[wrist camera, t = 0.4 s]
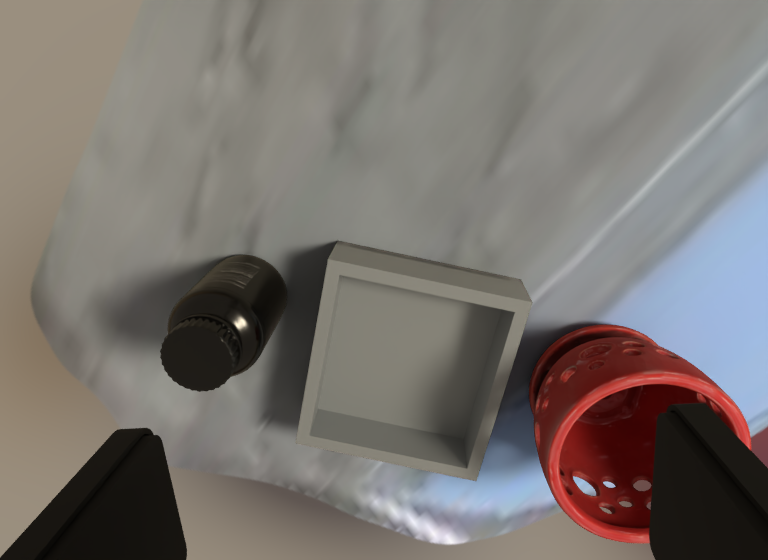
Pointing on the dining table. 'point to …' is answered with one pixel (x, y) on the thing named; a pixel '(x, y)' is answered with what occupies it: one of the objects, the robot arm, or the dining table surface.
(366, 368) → the tray
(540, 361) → the plant pot
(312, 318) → the dining table surface
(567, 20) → the dining table surface
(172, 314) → the supplement bottle
